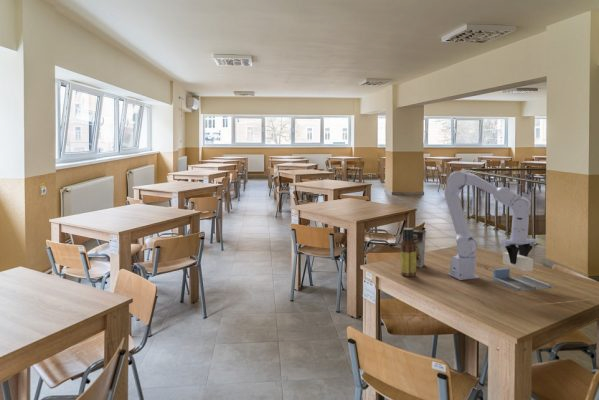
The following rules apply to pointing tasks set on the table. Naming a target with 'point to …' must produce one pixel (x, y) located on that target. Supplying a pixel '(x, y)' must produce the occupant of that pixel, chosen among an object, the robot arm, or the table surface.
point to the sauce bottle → (408, 254)
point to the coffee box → (419, 246)
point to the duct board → (518, 281)
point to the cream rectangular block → (519, 262)
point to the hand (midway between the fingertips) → (517, 263)
